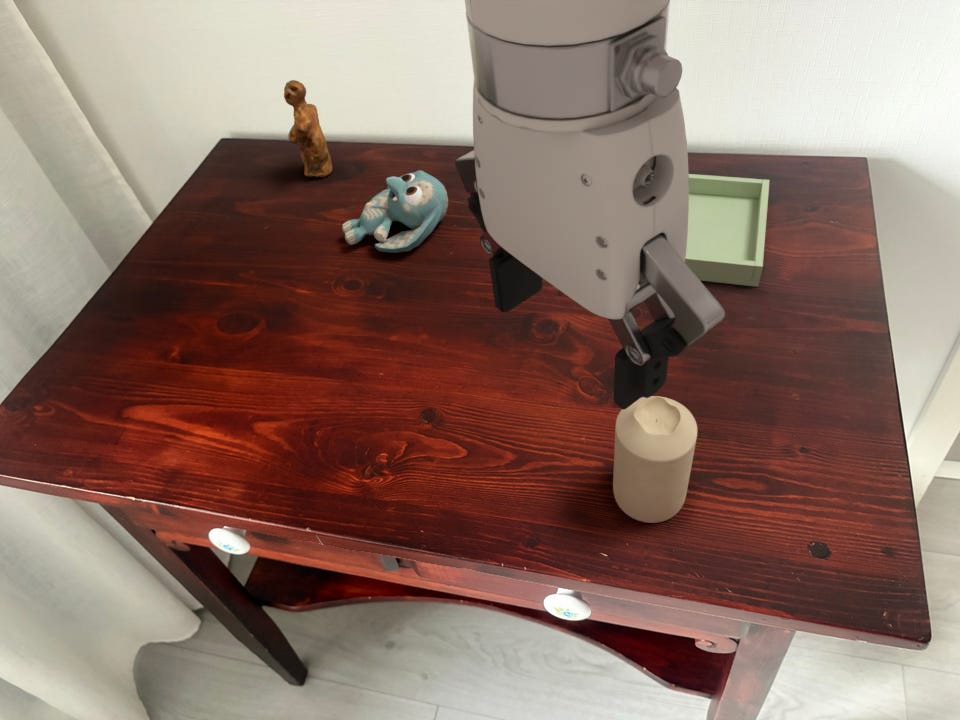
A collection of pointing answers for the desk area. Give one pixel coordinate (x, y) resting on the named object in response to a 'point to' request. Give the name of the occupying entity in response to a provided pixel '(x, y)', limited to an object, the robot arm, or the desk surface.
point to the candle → (653, 458)
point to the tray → (726, 228)
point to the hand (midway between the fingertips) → (575, 342)
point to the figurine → (307, 132)
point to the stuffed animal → (401, 212)
